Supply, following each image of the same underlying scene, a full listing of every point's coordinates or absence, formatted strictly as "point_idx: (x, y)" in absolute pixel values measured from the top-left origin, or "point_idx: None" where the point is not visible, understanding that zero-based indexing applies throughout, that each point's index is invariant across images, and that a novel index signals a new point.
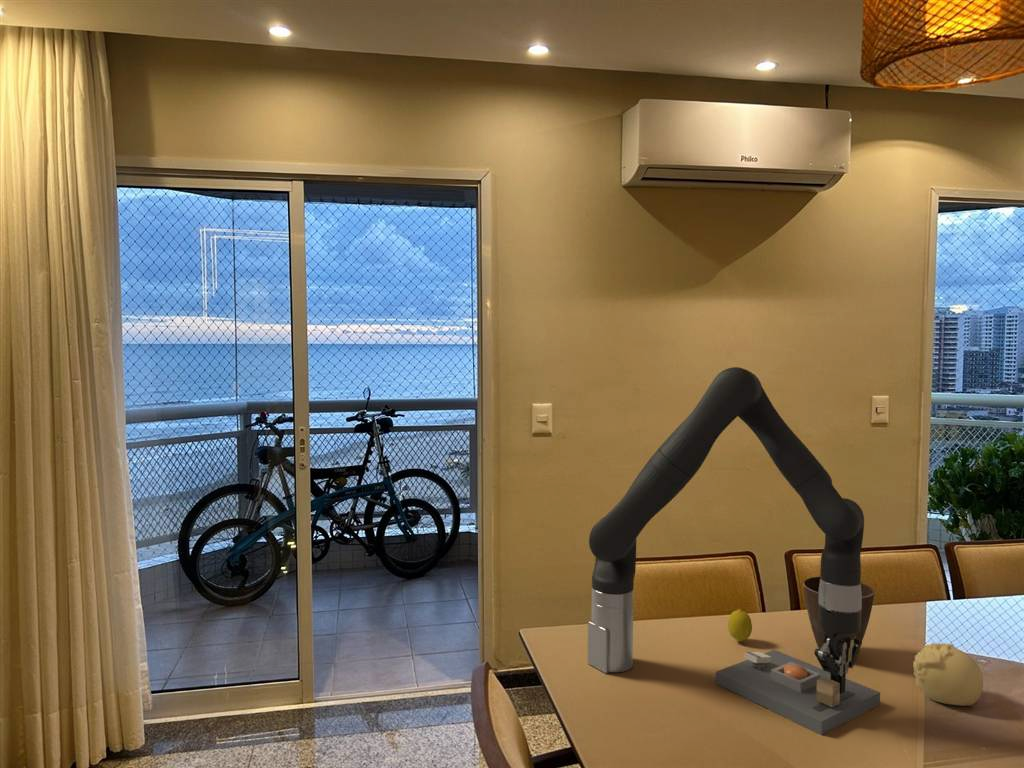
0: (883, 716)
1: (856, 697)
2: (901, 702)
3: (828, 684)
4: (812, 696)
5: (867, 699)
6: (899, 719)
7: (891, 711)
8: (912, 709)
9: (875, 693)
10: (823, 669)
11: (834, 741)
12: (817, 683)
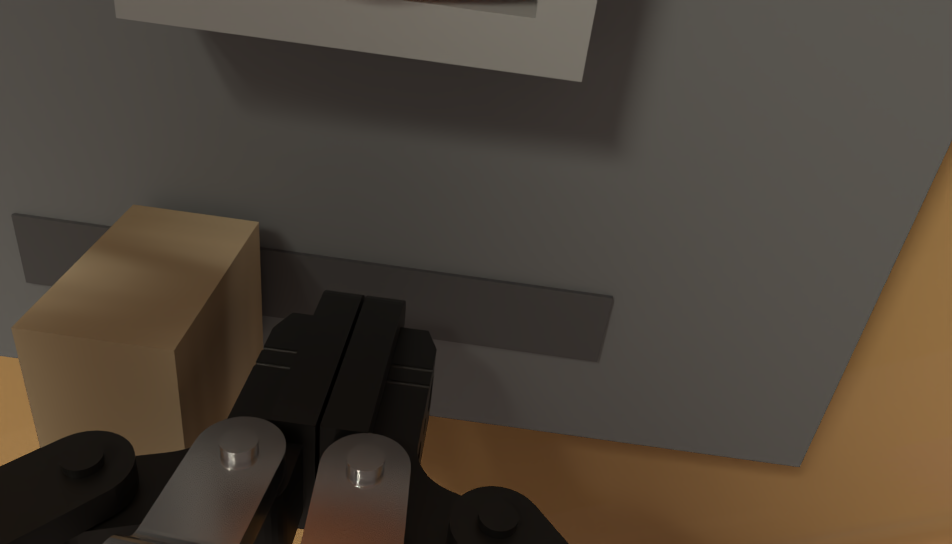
0: (598, 450)
1: (545, 380)
2: (923, 470)
3: (48, 442)
4: (214, 118)
5: (591, 434)
6: (632, 514)
7: (717, 462)
8: (848, 531)
9: (745, 451)
10: (46, 452)
11: (6, 360)
12: (35, 311)
